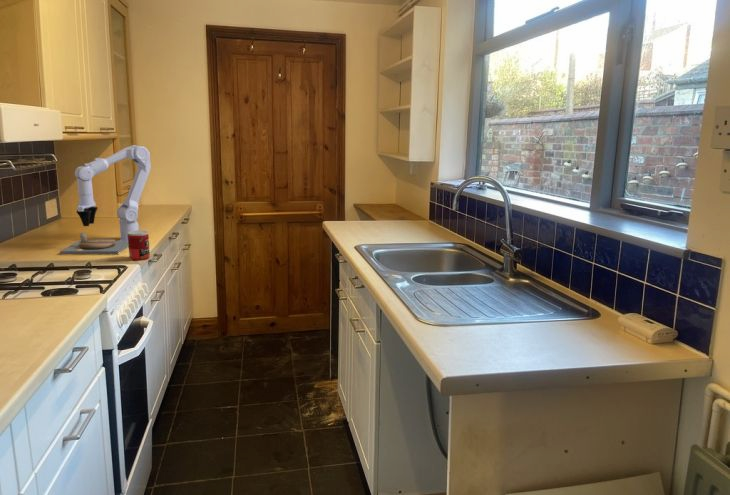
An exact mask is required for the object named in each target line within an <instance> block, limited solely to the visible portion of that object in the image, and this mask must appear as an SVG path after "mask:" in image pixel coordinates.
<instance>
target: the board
mask: <svg viewBox="0 0 730 495" xmlns="http://www.w3.org/2000/svg"><path fill="white" fill-rule="evenodd" d="M79 242H81V240H77V241H76V242H74V243H72V244H70V245H69V246H67V247H66V248H64V249H61V250H60V255H61V254H118V253H119V252H121V251H122V250H124V249H125V248H126V249H128V248H129V247H128V246H129V244H128V241H118V240H115V245H114V246H111V247H108V248H102V249H83V248H80V247H79ZM127 247H128V248H127ZM126 249H125V250H126ZM125 250H124V251H125ZM122 252H123V251H122ZM122 252H121V253H122ZM118 255H119V254H118Z"/></svg>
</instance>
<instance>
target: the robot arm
mask: <svg viewBox="0 0 730 495" xmlns="http://www.w3.org/2000/svg"><path fill="white" fill-rule="evenodd" d="M150 157H151V153H150V151H149V150H148V149H147V147H145V146H141V145H140V146H139V145H135V144H132V145H130V146H127V147H125V148H123V149H121V150H119V151H116V152H115V153H113V154H112V155H109V156H107V157H105V158H103V157H102V158H101V157H95V158H94V160H92V161H90V162H89V163H87V162H86V163H84V164H83V165H84V166H82V165H81V166H78V167H76V169H74V170H75V171H74V176H75V178H76V181H77V185H76V186H77V195H78V202H79V203H77V204H76V207H77V210H76V214H77V215H78V216H79V218H80V220H81V224H82V226H83V227H89V226H90V224H91V225H92V224H95V218H96V213H97V211H98V207H97V206H96V201H95V200H94V192H93V191H94V189H93V180H92V179H93V178H94V176H97V175H99V174H101V173H103V172H104V171H107V170H108V168H109V167H110V166H111V165H113V164H115V163H118V162H120V161H122V160H125V159H129V160H130V159H131V160H132V161H133V162H134V163H135V165H136V167H137V169H136V172H135V174H134V177H133V180H132V181H131V185H130V188H129V191H128V193H127V196H126V198H125V199H124V201H123V202H122V203H121V205H120V206H119V207H118V208H117V211H116V216H117V217H118V218H119V231H120V234H119V235H120V239H118V240H117V241H128V232H130V231H137V230H140V229H139V228H140V226H139V222H138V221H137V219H138V217H139V214H138V213H139V212H138V211H139V208H140V207H139V202H140V199H141V196H142V194H143V190H144V188H145V186H146V182H147V179H148V177H149V175H150V172H151V168H152V164H151V158H150Z"/></svg>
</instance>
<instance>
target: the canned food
mask: <svg viewBox="0 0 730 495" xmlns="http://www.w3.org/2000/svg"><path fill="white" fill-rule="evenodd" d="M128 244H129V247H128V254H129V258H131V259H132V261H138V262H139V261H146V260H149V259H150V257H151V256H150V255H151V254H150V239H149V231H146V230H140V229H139V230H137V231H130V232H128ZM131 259H130V260H131Z"/></svg>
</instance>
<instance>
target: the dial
mask: <svg viewBox="0 0 730 495" xmlns="http://www.w3.org/2000/svg"><path fill="white" fill-rule="evenodd" d="M79 234H80V235H79V236H80V241H81V242H79V247H80V248H83V249H102V248H108V247H111V246H114V245H115V241H116V240H115V239H114V238H109V237H100V238H98V237H97V238H88V236H87V233H86V232H82V233H81V232H80V233H79Z"/></svg>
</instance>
